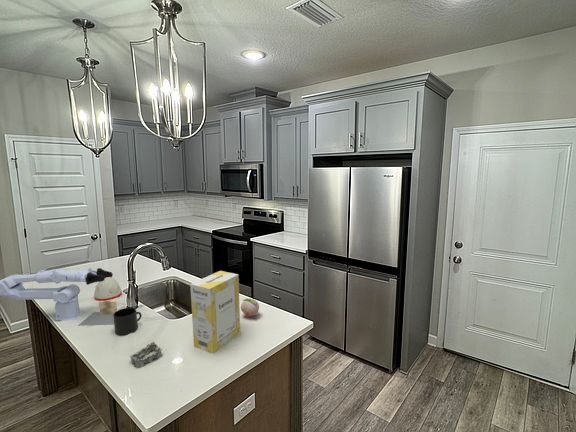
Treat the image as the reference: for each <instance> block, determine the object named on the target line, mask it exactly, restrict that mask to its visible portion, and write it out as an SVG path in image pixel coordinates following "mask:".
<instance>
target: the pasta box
mask: <svg viewBox="0 0 576 432" xmlns="http://www.w3.org/2000/svg"><path fill="white" fill-rule="evenodd" d="M239 276H240V275H239V274H238V273H234V272H227V271H223V270H219V271H216V272H214V273H211V274H210V275H207V276H205V277H203V278H201V279H198V280H196V281H194V282H192V283H190V284H189V286H190V300H191V301H190V302H191V318H192V319H191V320H192V321H191V322H192V335H193V336H192V337H193V347H194V348H196V349H199V350H202V351H204V352H206V353H209V354H212V355H214V354H215V353H216V352H218V351H219V350H220V349H221V348H222V347H224V346H225V345H227V343H229V342H230V341H232V340H233V339H234V338H235V337H237V336H238V335H239V334H240V333H241V313H240V312H241V311H240V310H241V306H240V282H239V281H240V278H239Z"/></svg>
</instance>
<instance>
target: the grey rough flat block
mask: <svg viewBox="0 0 576 432" xmlns="http://www.w3.org/2000/svg"><path fill="white" fill-rule="evenodd" d="M162 351H163V349H162V348H161V347H159V346H158V344H157V343H155V341H152V342H150V343H148V344H146V346H145V347H143V348H142V349H140V350H137V351H136V352H134V354H130V355H129V358H130V360H131V364H134V366H135V367H136V368H139V367H144V366H145V365H144V364H146V363H151V362H153V359H159V358H161V356H162ZM151 352H154V353H151ZM150 353H151V354H150Z"/></svg>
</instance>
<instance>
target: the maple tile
mask: <svg viewBox="0 0 576 432" xmlns="http://www.w3.org/2000/svg"><path fill="white" fill-rule="evenodd" d="M98 307H99V308H98V309H99V312H100V315H109V314H114V313H115V312H116V311H118V305H117V300H106V301H98Z"/></svg>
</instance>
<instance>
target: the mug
mask: <svg viewBox="0 0 576 432" xmlns="http://www.w3.org/2000/svg"><path fill="white" fill-rule="evenodd" d="M138 315H139V317H138ZM113 317H114V325H113V326H114V333H115V335H117V336H128V335H130V334H132V333H136V331H137V330H138V329H139V328H138V327H139V325H138V324H139V323H138V322H139V321H140V320H141V319H142V313H141V312H140V311H137V309H136V308H135V307H124V308H121V309H117V311H116V312H115V313H114V314H113Z"/></svg>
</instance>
